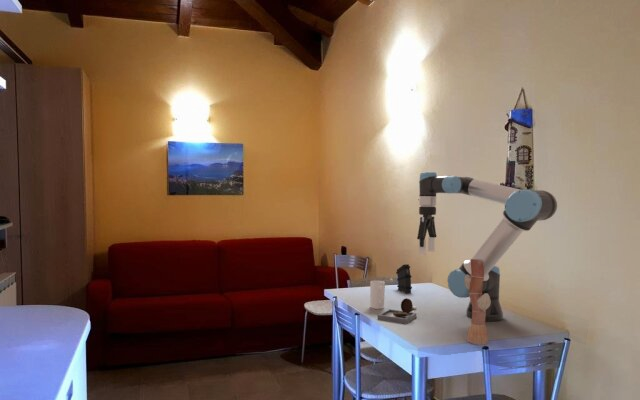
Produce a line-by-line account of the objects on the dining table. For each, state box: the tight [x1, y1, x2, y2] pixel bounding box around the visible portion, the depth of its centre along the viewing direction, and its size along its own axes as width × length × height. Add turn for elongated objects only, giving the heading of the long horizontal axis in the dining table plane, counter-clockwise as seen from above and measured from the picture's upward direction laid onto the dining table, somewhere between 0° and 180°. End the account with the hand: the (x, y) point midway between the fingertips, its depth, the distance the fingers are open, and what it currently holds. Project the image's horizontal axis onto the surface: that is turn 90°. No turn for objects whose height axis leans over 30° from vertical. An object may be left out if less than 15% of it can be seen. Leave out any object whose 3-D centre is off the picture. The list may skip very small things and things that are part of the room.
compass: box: [393, 297, 414, 316], centre depth 205 cm, size 8×8×7 cm
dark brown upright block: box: [395, 264, 413, 294], centre depth 264 cm, size 4×13×15 cm, turn 14°
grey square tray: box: [377, 308, 418, 325], centre depth 206 cm, size 13×13×2 cm
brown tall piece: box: [464, 258, 491, 346], centre depth 176 cm, size 10×7×30 cm
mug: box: [369, 280, 386, 310], centre depth 224 cm, size 10×7×12 cm, turn 16°
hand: (426, 252), depth 219 cm, fingers open, 13 cm apart
